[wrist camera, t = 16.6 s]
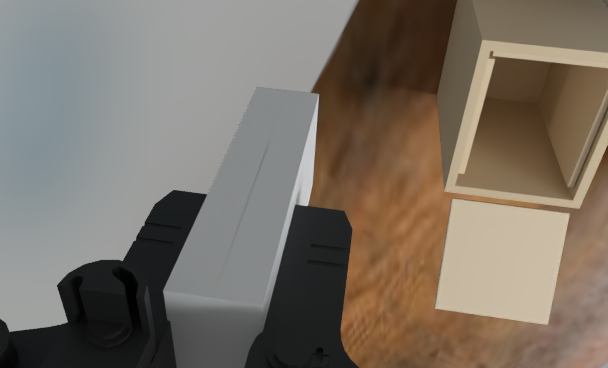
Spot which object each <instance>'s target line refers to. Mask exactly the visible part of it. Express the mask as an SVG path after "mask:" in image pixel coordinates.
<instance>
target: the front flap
mask: <svg viewBox="0 0 608 368" xmlns="http://www.w3.org/2000/svg"><path fill="white" fill-rule="evenodd" d="M569 215H570V214H569V213H568V212H560V211H552V210H545V209H537V208H529V207H521V206H513V205H506V204H498V203H490V202H482V201H474V200H466V199H459V198H452V200H451V206H450V212H449V218H448V225H447V231H446V237H445V243H444V250H443V256H442V262H441V268H440V275H439V281H438V287H437V293H436V300H435V306H434V307H435V308H436V309H442V310H449V311H456V312H463V313H470V314H477V315H484V316H491V317H498V318H505V319H511V320H518V321H525V322H532V323H539V324H546V325H548V321H549V316H550V311H551V305H552V300H553V295H554V290H555V285H556V280H557V275H558V270H559V265H560V260H561V255H562V250H563V245H564V240H565V235H566V230H567V225H568V220H569Z"/></svg>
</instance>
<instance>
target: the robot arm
mask: <svg viewBox="0 0 608 368" xmlns="http://www.w3.org/2000/svg"><path fill="white" fill-rule="evenodd" d="M318 102H319V94H315V93H305V92H296V91H288V90H280V89H271V88H262V87H257V88H256V90H255V92H254V94H253V97H252V99H251V101H250V103H249V105H248V108H247V110H246V112H245V114H244V116H243V118H242V121H241V123H240V125H239V127H238V129H237V131H236V134H235V136H234V138H233V140H232V142H231V144H230V146H229V149H228V151H227V153H226V155H225V157H224V159H223V162H222V164H221V166H220V168H219V170H218V173H217V175H216V177H215V179H214V181H213V183H212V186H211V188H210V190H209V192H208V194H200V193H192V192H185V191H177V190H173V191H172V192H170V193H169V194H168V195H166V196H165V197H164V198H163V199H161V200H160V201H159V202H157V203H156V204H155V206H154V207H153V209H152V210H151V212H150V214H149V216H148V218H147V219H146V221H145V225H144V226H142V228H141V230H140V232H139V233H138V235H137V237H136V241H134V242H133V244H132V246H131V248H130V249H129V251H128V253H127V255H126V256H125V258H124V260H123V261H120V260H100V261H96V262H92V263H88V264H85V265H82V266H81V267H79V268H77V269H75V270H73V271H72V272H70V273H68V274H67V275H66V277H64V278H63V280H62V281H61V282H60V283H59V284H58V285H57V287H58V291H59V294H60V297H61V300H62V303H63V307H64V310H65V313H66V317H67V320H68V322H67V323H65V324H61V325H57V326H52V327H46V328H38V329H29V330H22V331H14V332H9V330H8V327H7V325H6V323H5V322H4V321H2V320H1V319H0V368H359V367H358V366H357V365H356V364H355V363H354V362H353V361H352V360H351V359H350V358H349V356H348V355H347V353H346V352H345V350H344V347H343V344H342V341H341V330H340V328H341V320H342V312H343V303H344V295H345V287H346V279H347V270H348V262H349V254H350V246H351V237H352V227H351V225H350V223H349V221H348V218H347V216H346V214H345V212H344V211H341V210H333V209H325V208H318V207H310V206H308V203H309V198H310V194H311V189H312V184H313V170H314V157H315V143H316V129H317V115H318Z"/></svg>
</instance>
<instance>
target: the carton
mask: <svg viewBox="0 0 608 368" xmlns="http://www.w3.org/2000/svg"><path fill="white" fill-rule="evenodd" d="M437 103H438V116H439V129H440V141H441V154H442V166H443V179H444V192H452V193H460V194H468V195H476V196H484V197H492V198H499V199H507V200H515V201H523V202H531V203H539V204H547V205H554V206H562V207H570V208H578V209H579V208H580V206H581V204H582V202H583V199H584V197H585V195H586V192H587V190H588V188H589V186H590V183H591V181H592V179H593V177H594V174H595V172H596V170H597V168H598V165H599V163H600V161H601V158H602V156H603V154H604V152H605V149H606V147H607V145H608V7H607V6H606V5H605V3H604V2H603V1H602V0H457V4H456V8H455V13H454V18H453V22H452V27H451V32H450V36H449V41H448V46H447V50H446V55H445V60H444V65H443V69H442V74H441V79H440V83H439V88H438V93H437Z"/></svg>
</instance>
